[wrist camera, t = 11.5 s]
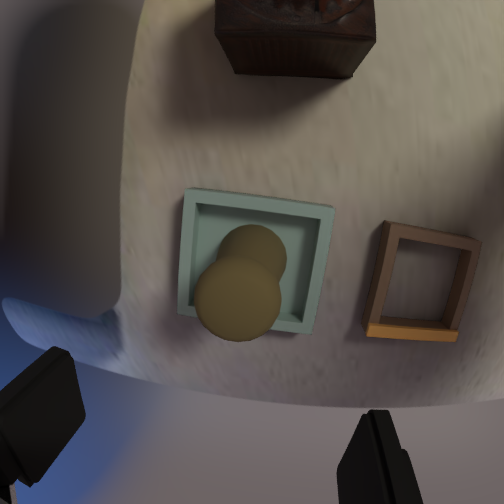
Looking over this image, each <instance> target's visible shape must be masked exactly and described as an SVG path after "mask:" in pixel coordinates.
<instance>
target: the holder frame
mask: <svg viewBox="0 0 504 504" xmlns="http://www.w3.org/2000/svg"><path fill="white" fill-rule="evenodd" d="M399 238H405V239H411V240H416V241H422V242H427V243H433V244H438V245H444V246H449V247H454V248H459V249H461V254H460V258H459V262H458V266H457V270H456V274H455V278H454V281H453V285H452V289H451V292H450V295H449V299H448V302H447V305H446V309H445V312H444V315H443V318H442V321H429V320H417V319H406V318H395V317H385V316H381V314H382V310H383V306H384V303H385V299H386V295H387V291H388V287H389V283H390V279H391V275H392V270H393V266H394V262H395V257H396V252H397V248H398V243H399ZM481 245H482V242H481V241H478V240H476V239H473V238H470V237H466V236H461V235H456V234H452V233H447V232H442V231H437V230H432V229H427V228H422V227H417V226H412V225H407V224H401V223H396V222H390V221H385V220H384V224H383V229H382V235H381V240H380V245H379V250H378V255H377V259H376V264H375V269H374V273H373V278H372V282H371V286H370V290H369V295H368V299H367V303H366V307H365V310H364V314H363V318H362V322H361V325H362V327H363V329H364V331H365V334H366V336H369V337H381V338H393V339H408V340H424V341H443V342H456V339H457V337H458V334H459V331H458V330H457V329H458V326H459V323H460V320H461V317H462V314H463V311H464V308H465V305H466V302H467V298H468V295H469V292H470V288H471V285H472V281H473V278H474V274H475V270H476V266H477V262H478V258H479V254H480V249H481Z"/></svg>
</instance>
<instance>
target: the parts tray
mask: <svg viewBox="0 0 504 504" xmlns="http://www.w3.org/2000/svg"><path fill="white" fill-rule="evenodd" d="M334 215H335V208H334V207H332V206H331V205H324V204H318V203H311V202H305V201H298V200H291V199H284V198H277V197H269V196H262V195H254V194H246V193H238V192H229V191H221V190H212V189H202V188H187V189H185V195H184V206H183V217H182V230H181V244H180V259H179V277H178V299H177V314H179V315H185V316H190V317H196V318H198V316H197V314H196V310H195V306H194V292H195V286H196V284H197V281H198V279H199V277H200V275H201V274H202V273H203V272H204V271H205V270H206V269H207V267H208V266H209V265H210V264H211V263H213V262H215V261H216V257H217V253H218V249H219V247H220V244H221V242H222V240H223V238H224V237H225V236H226V235H227V234H228V233H229V232H230V231H231V230H233V229H235V228H237V227H239V226H242V225H248V224H255V225H262V226H264V227H266V228H268V229H270V230H272V231H273V232H274V233H275V234H276V235H277V236H279V237H280V239H281V241H282V242H283V244H284V246H285V248H286V254H287V263H286V269H285V271H284V273H283V275H282V278H281V280H280V282H279V285H280V291H281V296H282V302H281V308H280V314H279V315H278V317H277V319H276V321H275V322H274V324H273V326H272V327H271V328H270V329H271V330H278V331H286V332H294V333H302V334H310V335H312V330H313V326H314V321H315V317H316V312H317V307H318V302H319V297H320V293H321V288H322V282H323V277H324V272H325V267H326V261H327V256H328V250H329V245H330V239H331V233H332V227H333V221H334Z"/></svg>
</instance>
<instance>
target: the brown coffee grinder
mask: <svg viewBox="0 0 504 504" xmlns="http://www.w3.org/2000/svg"><path fill="white" fill-rule="evenodd" d="M214 31H215V36H216V37H217V39H218V40H219V42H220V44H221V46H222V48H223V50H224V52H225V54H226V56H227V58H228V59H229V61H230V63H231V65H232V67H233V70H234V73H235V74H244V75H258V76H296V77H314V78H328V79H345V78H350V77H353V73H354V72H355V70H356V69H357V67H358V66H359V65H360V63H361V62H362V61H363V59H364V58H365V57H366V55H367V54H368V52H369V51H370V50H371V48H372V47H373V46H374V44H375V43H376V23H375V9H374V0H215V30H214Z"/></svg>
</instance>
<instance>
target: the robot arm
mask: <svg viewBox="0 0 504 504" xmlns="http://www.w3.org/2000/svg"><path fill="white" fill-rule="evenodd" d="M85 416H86V413H85V409H84V405H83V401H82V397H81V393H80V388H79V384H78V379H77V374H76V369H75V365H74V360H73V358H72V357H71V355H70V353H69V352H68V351H66V350H64V349H61V348H58V347H56V346H53V347H51V348H50V349H49V350H47V351H46V352H45V353H44V354H43V355H41V356H40V357H39V358H38V359H37V360H36V361H34V362H33V363H32V364H31V365H30V366H28V367H27V368H26V369H25V370H24V371H23V372H22V373H20V374H19V375H18V376H17V377H16V378H15V379H13V380H12V381H11V382H10V383H9V384H8V385H6V386H5V387H4V388H3V389H2V390H1V391H0V504H17V498H16V492H15V484H14V482H15V481H16V480H17V479H18V480H19V481H21V482H22V483H24V484H25V485H27V486H29V487H31V486H32V485H33V483H37V482H39V481H40V479H41V478H42V477H43V475H44V474H45V473H46V471H47V470H48V468H49V467H50V466H51V464H52V463H53V462H54V460H55V459H56V458H57V456H58V455H59V453H60V452H61V451H62V450H63V448H64V447H65V446H66V444H67V443H68V442H69V440H70V439H71V438H72V437H73V435H74V434H75V433H76V431H77V430H78V428H79V427H80V426H81V425H82V423H83V422H84V420H85ZM337 485H338V497H339V504H423V501H422V497H421V494H420V490H419V487H418V484H417V480H416V477H415V474H414V470H413V467H412V464H411V461H410V458H409V455H408V453H407V451H406V450H405V449H401V446H400V443H399V439H398V436H397V433H396V430H395V427H394V424H393V421H392V418H391V415H390V413H389V411H388V410H369V411H368V413H367V414H363V415H362V416H361V419H360V421H359V423H358V425H357V428H356V430H355V432H354V434H353V436H352V438H351V441H350V443H349V445H348V447H347V449H346V451H345V453H344V455H343V457H342V459H341V461H340V463H339V465H338V468H337Z"/></svg>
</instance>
